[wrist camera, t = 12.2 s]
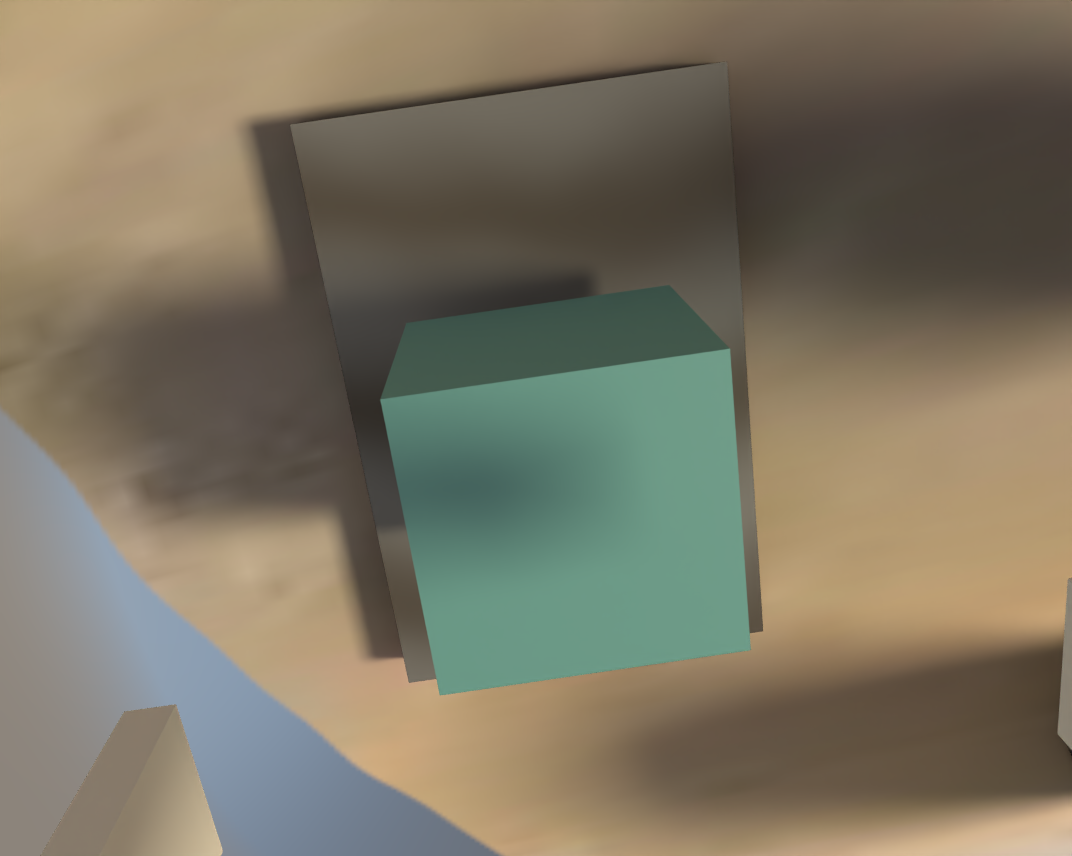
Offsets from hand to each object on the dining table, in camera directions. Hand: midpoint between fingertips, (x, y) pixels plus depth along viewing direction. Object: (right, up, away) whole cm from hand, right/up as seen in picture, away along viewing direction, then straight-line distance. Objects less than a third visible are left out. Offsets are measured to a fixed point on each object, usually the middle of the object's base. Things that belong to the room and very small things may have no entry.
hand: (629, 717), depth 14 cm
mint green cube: (-1, +4, +13) cm, 14 cm away
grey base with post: (-1, +5, +16) cm, 17 cm away
